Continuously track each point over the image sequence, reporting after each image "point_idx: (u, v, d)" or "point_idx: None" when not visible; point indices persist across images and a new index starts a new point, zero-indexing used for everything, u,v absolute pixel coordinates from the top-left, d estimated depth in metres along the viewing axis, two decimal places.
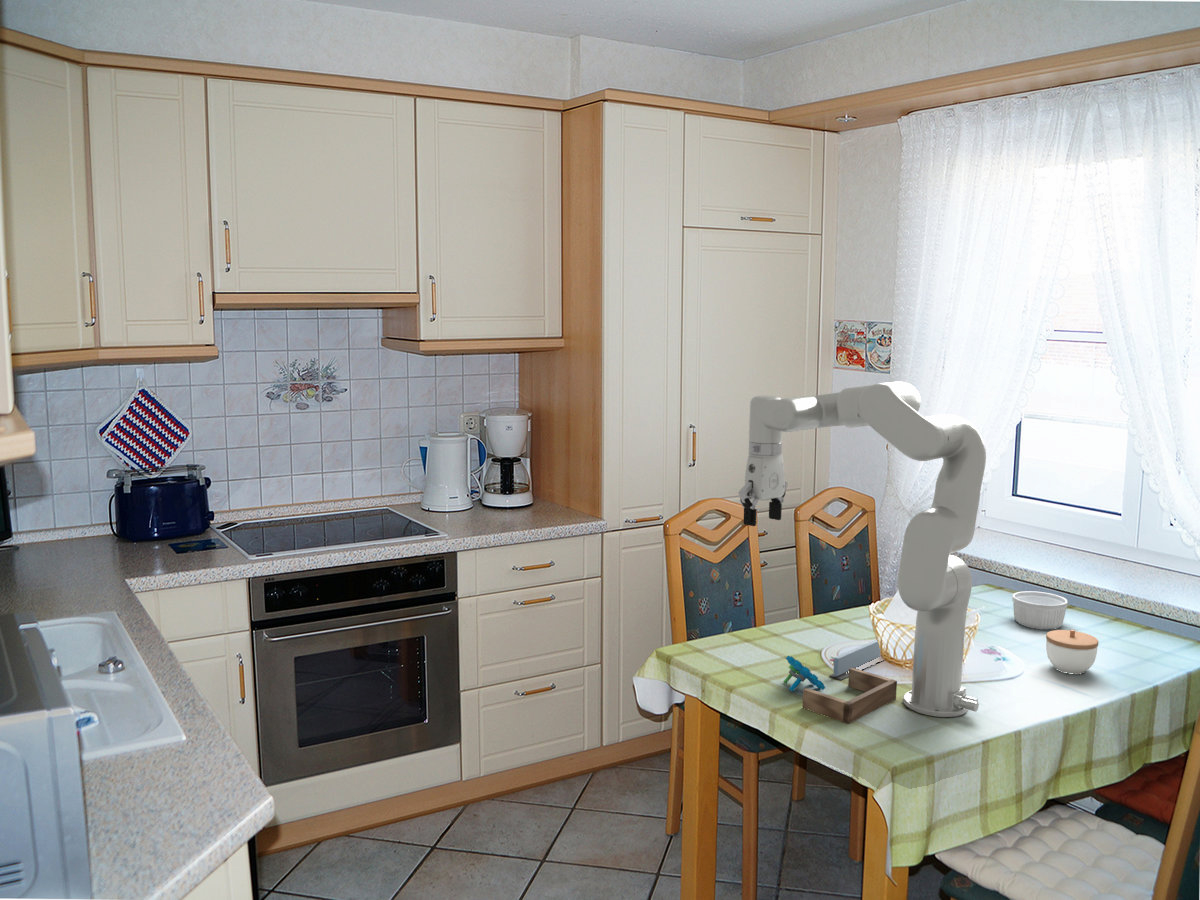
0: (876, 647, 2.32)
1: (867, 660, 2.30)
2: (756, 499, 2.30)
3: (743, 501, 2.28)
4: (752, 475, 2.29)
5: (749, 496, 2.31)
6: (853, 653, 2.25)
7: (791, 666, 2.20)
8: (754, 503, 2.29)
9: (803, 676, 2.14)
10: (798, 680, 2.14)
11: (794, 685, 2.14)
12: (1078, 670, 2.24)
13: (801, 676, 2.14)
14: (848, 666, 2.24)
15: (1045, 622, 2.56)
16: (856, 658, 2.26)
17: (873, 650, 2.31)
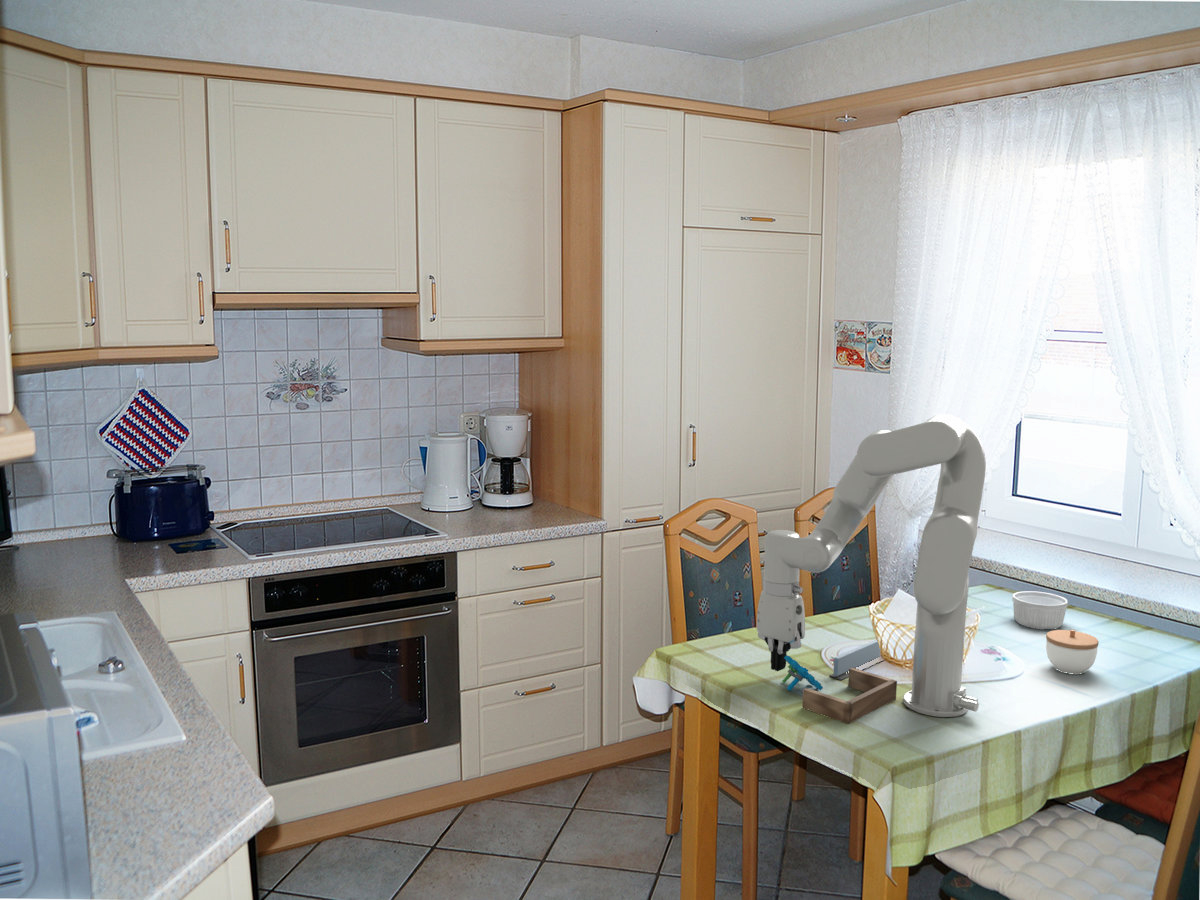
0: (876, 647, 2.32)
1: (867, 660, 2.30)
2: None
3: None
4: (800, 616, 2.15)
5: (795, 640, 2.16)
6: (853, 653, 2.25)
7: (790, 666, 2.20)
8: None
9: (801, 676, 2.14)
10: (795, 680, 2.14)
11: (791, 685, 2.14)
12: (1078, 670, 2.24)
13: (799, 676, 2.14)
14: (848, 666, 2.24)
15: (1045, 622, 2.56)
16: (856, 658, 2.26)
17: (873, 650, 2.31)
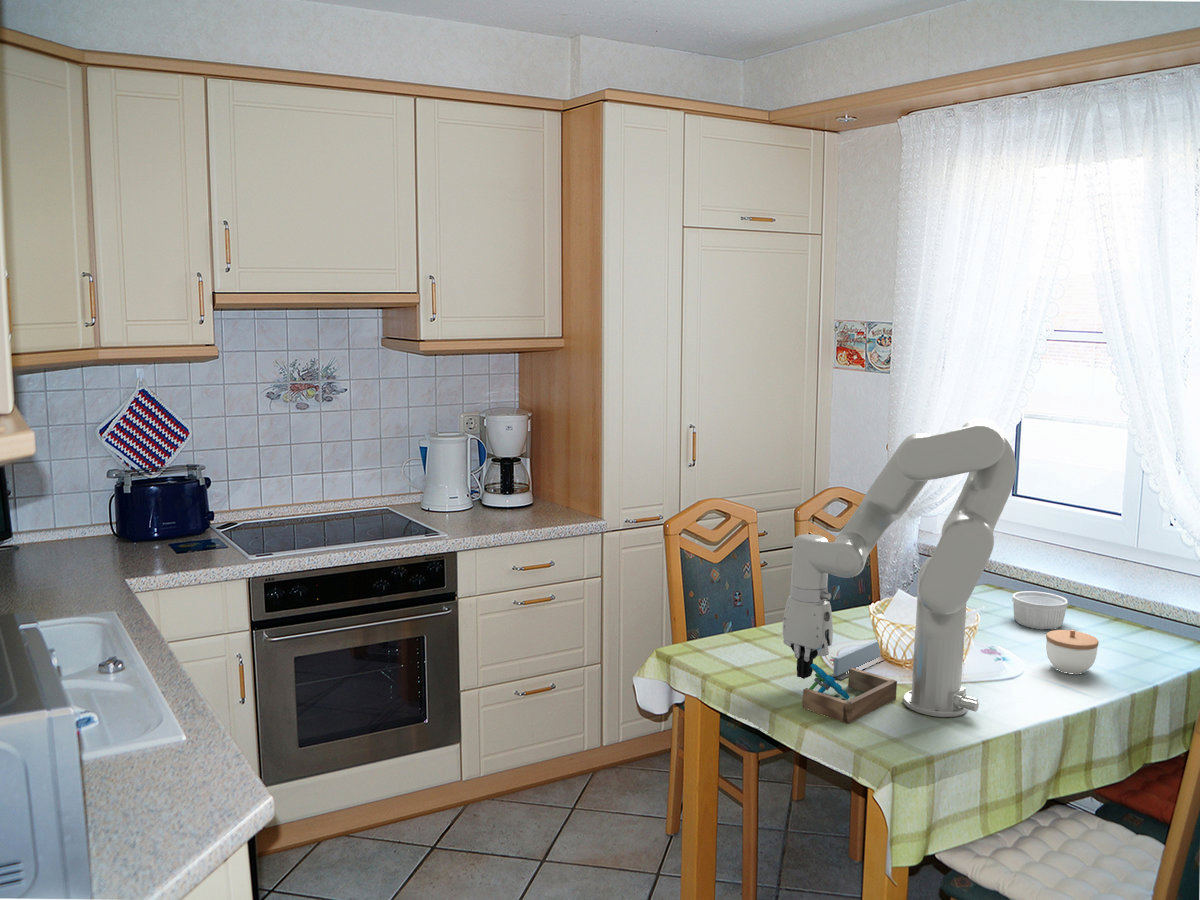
0: (876, 647, 2.32)
1: (867, 660, 2.30)
2: None
3: None
4: (828, 623, 2.10)
5: (822, 647, 2.10)
6: (853, 653, 2.25)
7: (817, 674, 2.15)
8: None
9: (827, 685, 2.09)
10: (822, 688, 2.09)
11: None
12: (1078, 670, 2.24)
13: (825, 684, 2.09)
14: (848, 666, 2.24)
15: (1045, 622, 2.56)
16: (856, 658, 2.26)
17: (873, 650, 2.31)
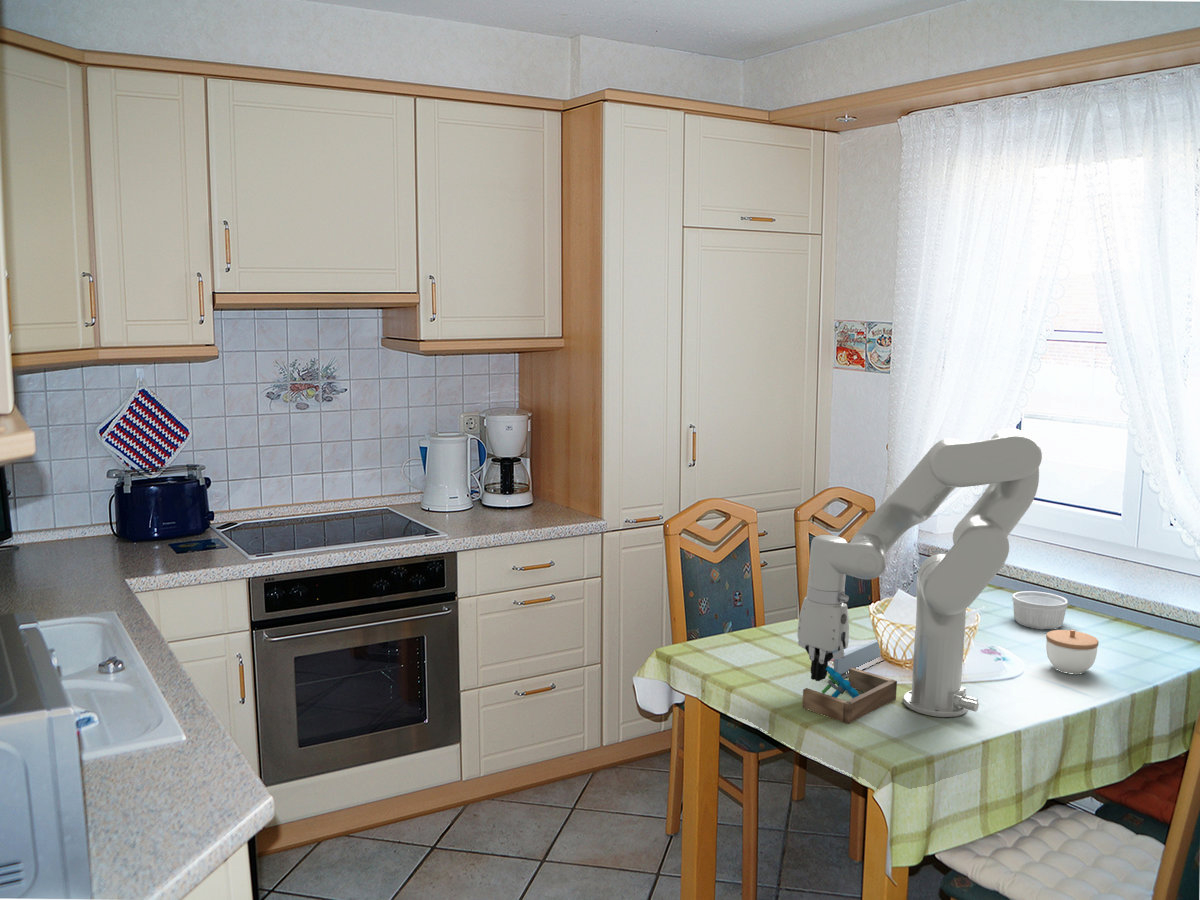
0: (876, 647, 2.32)
1: (867, 660, 2.30)
2: None
3: None
4: (844, 626, 2.07)
5: (838, 650, 2.07)
6: (853, 653, 2.25)
7: (830, 676, 2.12)
8: None
9: (842, 689, 2.06)
10: (837, 692, 2.06)
11: None
12: (1078, 670, 2.24)
13: (840, 688, 2.06)
14: (848, 666, 2.24)
15: (1045, 622, 2.56)
16: (856, 658, 2.26)
17: (873, 650, 2.31)
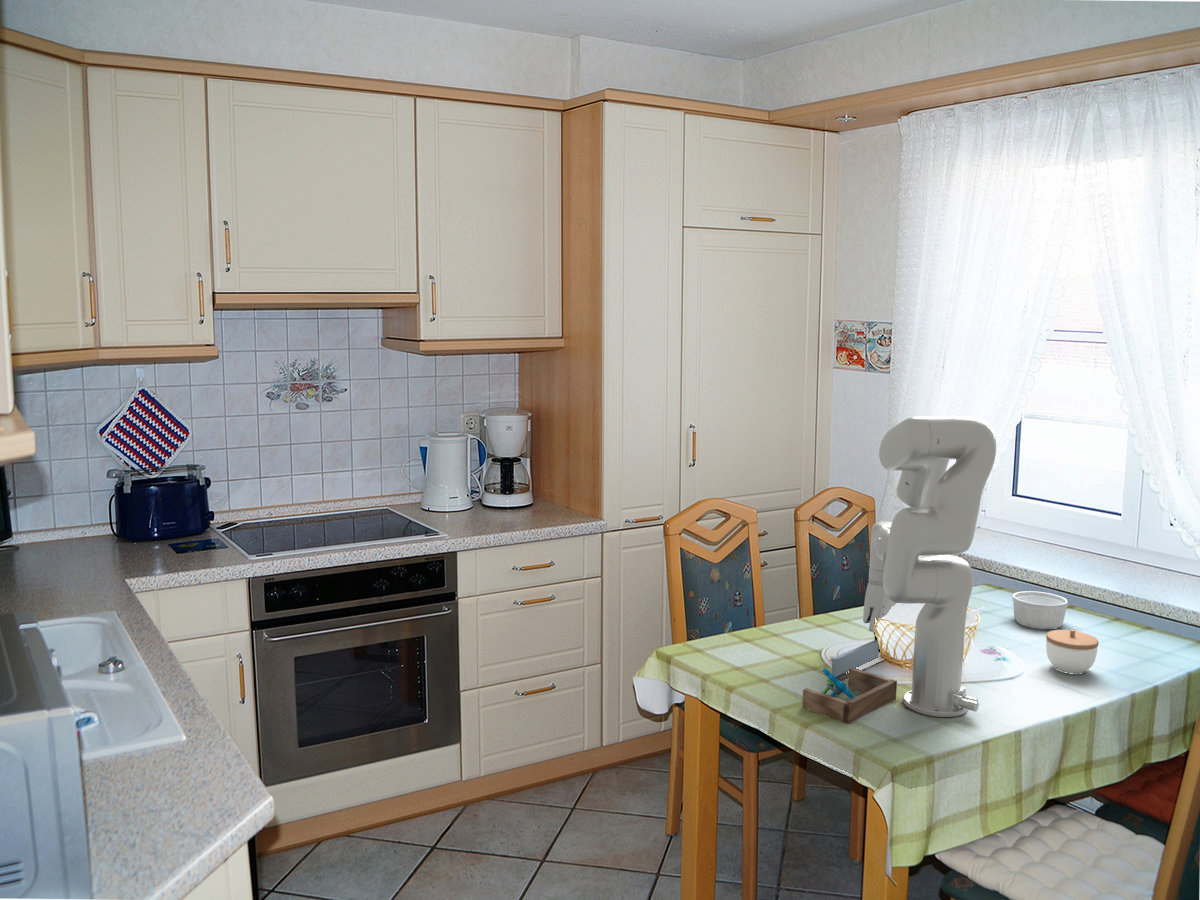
0: (874, 648, 2.32)
1: (865, 661, 2.29)
2: None
3: None
4: None
5: None
6: (851, 654, 2.25)
7: (829, 679, 2.12)
8: None
9: (838, 690, 2.06)
10: (833, 694, 2.07)
11: None
12: (1078, 670, 2.24)
13: (836, 690, 2.06)
14: (846, 667, 2.24)
15: (1045, 622, 2.56)
16: (854, 659, 2.26)
17: (871, 651, 2.31)
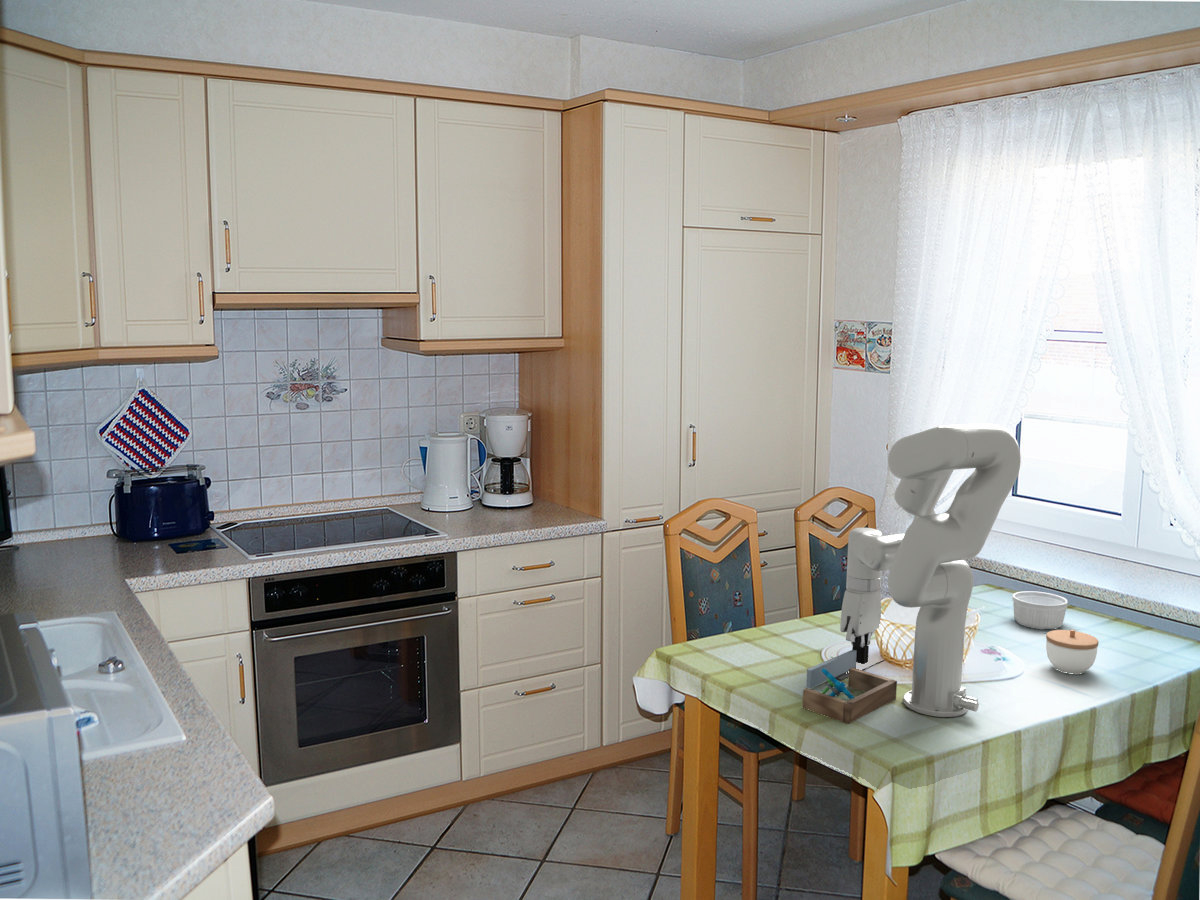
0: (852, 658, 2.25)
1: (842, 671, 2.23)
2: None
3: None
4: None
5: None
6: (827, 664, 2.18)
7: (829, 679, 2.12)
8: None
9: (837, 690, 2.06)
10: (832, 694, 2.07)
11: None
12: (1078, 670, 2.24)
13: (835, 690, 2.06)
14: (822, 678, 2.17)
15: (1045, 622, 2.56)
16: (830, 669, 2.19)
17: (848, 661, 2.24)
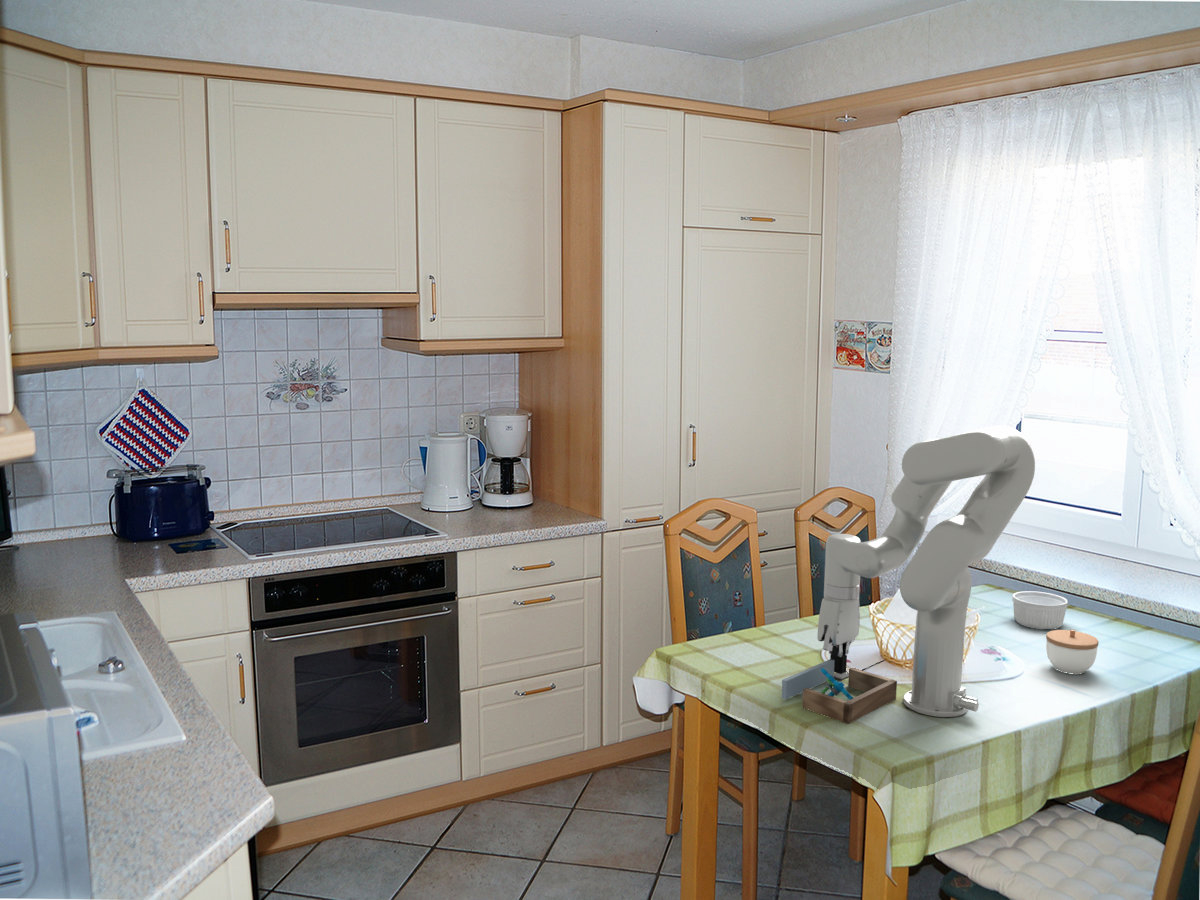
0: (829, 667, 2.19)
1: (819, 682, 2.16)
2: None
3: None
4: None
5: None
6: (803, 675, 2.12)
7: (828, 679, 2.12)
8: None
9: (836, 690, 2.06)
10: (831, 694, 2.07)
11: None
12: (1078, 670, 2.24)
13: (834, 690, 2.07)
14: (798, 689, 2.11)
15: (1045, 622, 2.56)
16: (806, 680, 2.13)
17: None
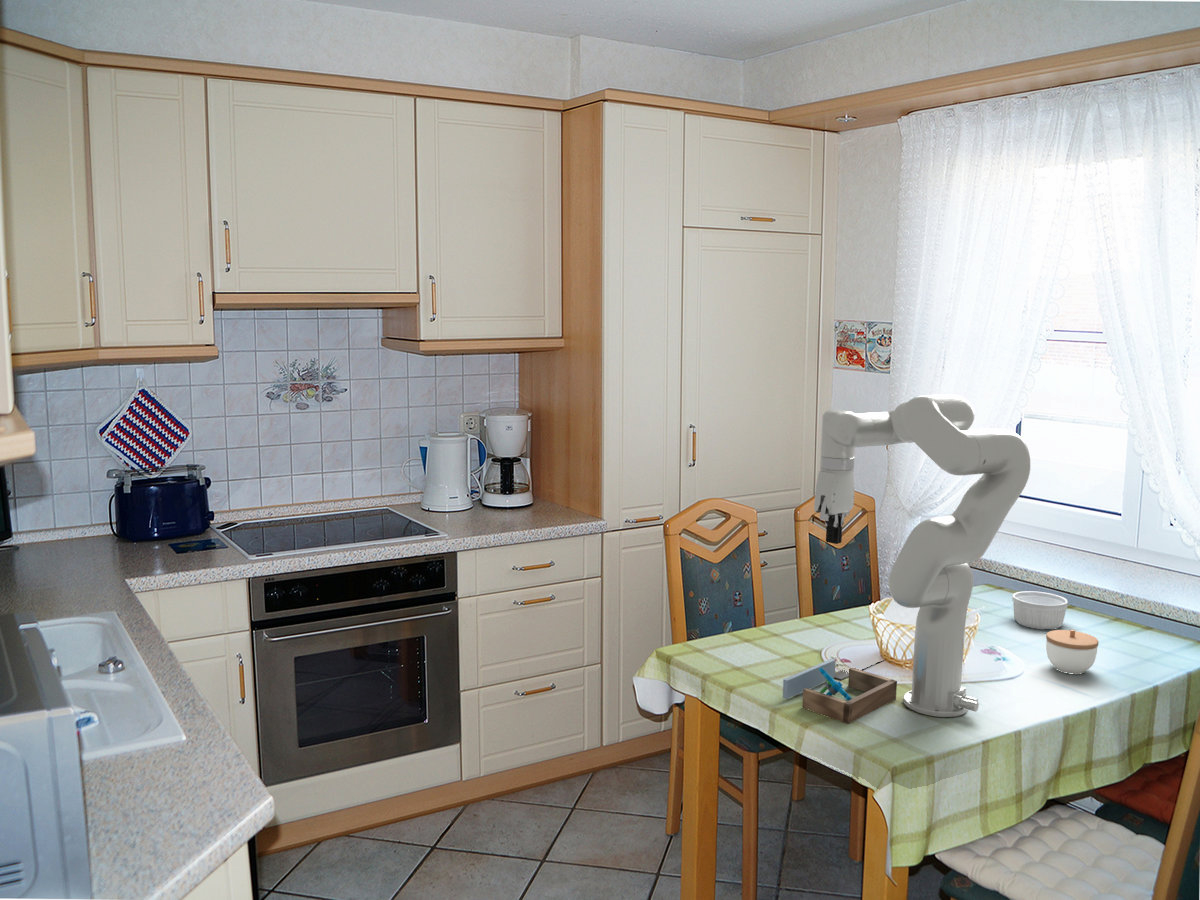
0: (830, 667, 2.19)
1: (820, 681, 2.17)
2: None
3: None
4: None
5: None
6: (804, 674, 2.12)
7: None
8: None
9: (834, 690, 2.06)
10: (828, 693, 2.07)
11: None
12: (1078, 670, 2.24)
13: (831, 690, 2.07)
14: (799, 688, 2.11)
15: (1045, 622, 2.56)
16: (808, 679, 2.13)
17: (827, 670, 2.18)
